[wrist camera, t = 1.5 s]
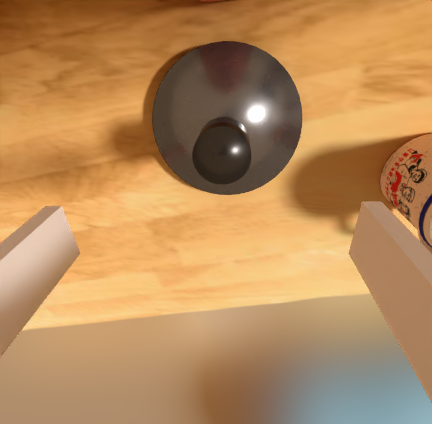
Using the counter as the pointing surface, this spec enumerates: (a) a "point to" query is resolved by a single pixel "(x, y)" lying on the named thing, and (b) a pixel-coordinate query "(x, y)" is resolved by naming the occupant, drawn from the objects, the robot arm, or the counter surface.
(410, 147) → the teacup with lid
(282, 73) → the lid
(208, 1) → the pot
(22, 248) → the robot arm
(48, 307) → the counter surface
